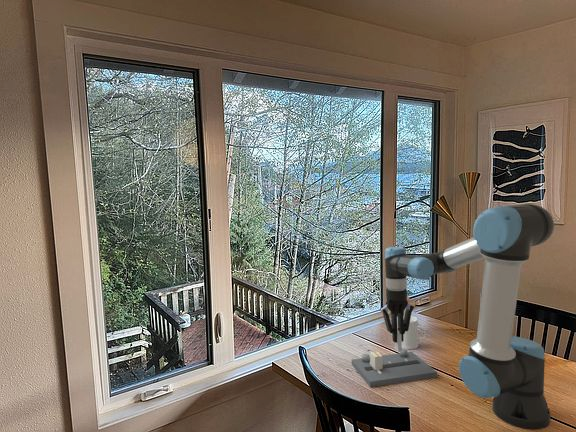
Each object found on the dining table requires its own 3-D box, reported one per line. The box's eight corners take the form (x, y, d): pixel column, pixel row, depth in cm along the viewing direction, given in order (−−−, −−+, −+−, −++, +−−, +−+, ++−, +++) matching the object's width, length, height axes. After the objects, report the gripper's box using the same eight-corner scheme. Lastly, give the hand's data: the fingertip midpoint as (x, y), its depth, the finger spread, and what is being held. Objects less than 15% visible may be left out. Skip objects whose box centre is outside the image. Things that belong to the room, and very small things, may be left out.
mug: (428, 345, 173) (428, 318, 172) (422, 352, 166) (421, 324, 165) (402, 339, 180) (401, 314, 179) (394, 346, 173) (394, 319, 172)
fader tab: (382, 369, 148) (382, 355, 148) (375, 370, 147) (374, 356, 147) (377, 363, 152) (377, 350, 152) (370, 364, 152) (370, 351, 151)
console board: (437, 377, 145) (436, 366, 145) (370, 387, 140) (370, 376, 140) (411, 356, 163) (411, 346, 163) (351, 364, 158) (351, 354, 157)
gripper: (407, 284, 154) (409, 344, 156) (375, 287, 151) (378, 348, 153) (417, 289, 147) (419, 351, 148) (384, 292, 144) (386, 356, 146)
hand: (398, 350), depth 151 cm, fingers closed
